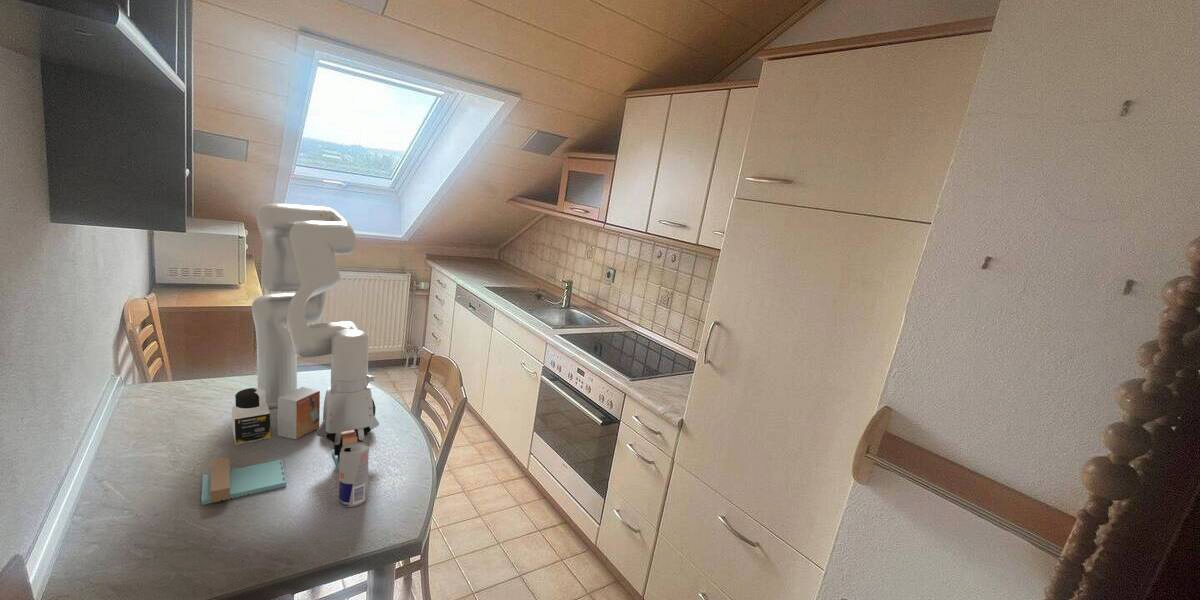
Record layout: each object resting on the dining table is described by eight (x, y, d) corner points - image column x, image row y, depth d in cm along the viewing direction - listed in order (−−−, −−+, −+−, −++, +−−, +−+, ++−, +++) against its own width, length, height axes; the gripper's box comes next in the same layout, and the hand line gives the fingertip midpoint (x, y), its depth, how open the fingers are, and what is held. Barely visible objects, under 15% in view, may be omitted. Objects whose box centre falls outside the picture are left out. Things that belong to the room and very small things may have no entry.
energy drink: (340, 494, 102) (340, 442, 100) (368, 490, 105) (369, 440, 102) (337, 509, 98) (338, 455, 95) (366, 505, 100) (368, 453, 97)
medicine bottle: (235, 445, 115) (233, 398, 113) (232, 432, 121) (231, 388, 118) (271, 438, 120) (270, 393, 118) (266, 426, 125) (265, 383, 123)
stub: (332, 453, 117) (332, 427, 115) (355, 449, 120) (355, 423, 118) (340, 474, 109) (340, 446, 108) (364, 469, 112) (364, 441, 111)
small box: (296, 440, 121) (295, 401, 119) (277, 436, 122) (276, 397, 120) (320, 427, 128) (320, 390, 126) (302, 422, 129) (302, 386, 127)
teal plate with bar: (203, 475, 103) (202, 461, 102) (281, 460, 112) (281, 447, 111) (201, 509, 93) (200, 493, 92) (286, 490, 102) (286, 475, 101)
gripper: (383, 373, 119) (380, 441, 122) (306, 381, 109) (306, 455, 112) (391, 384, 113) (388, 455, 116) (310, 394, 103) (310, 471, 106)
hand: (348, 454), depth 114 cm, fingers closed on stub, 3 cm apart
